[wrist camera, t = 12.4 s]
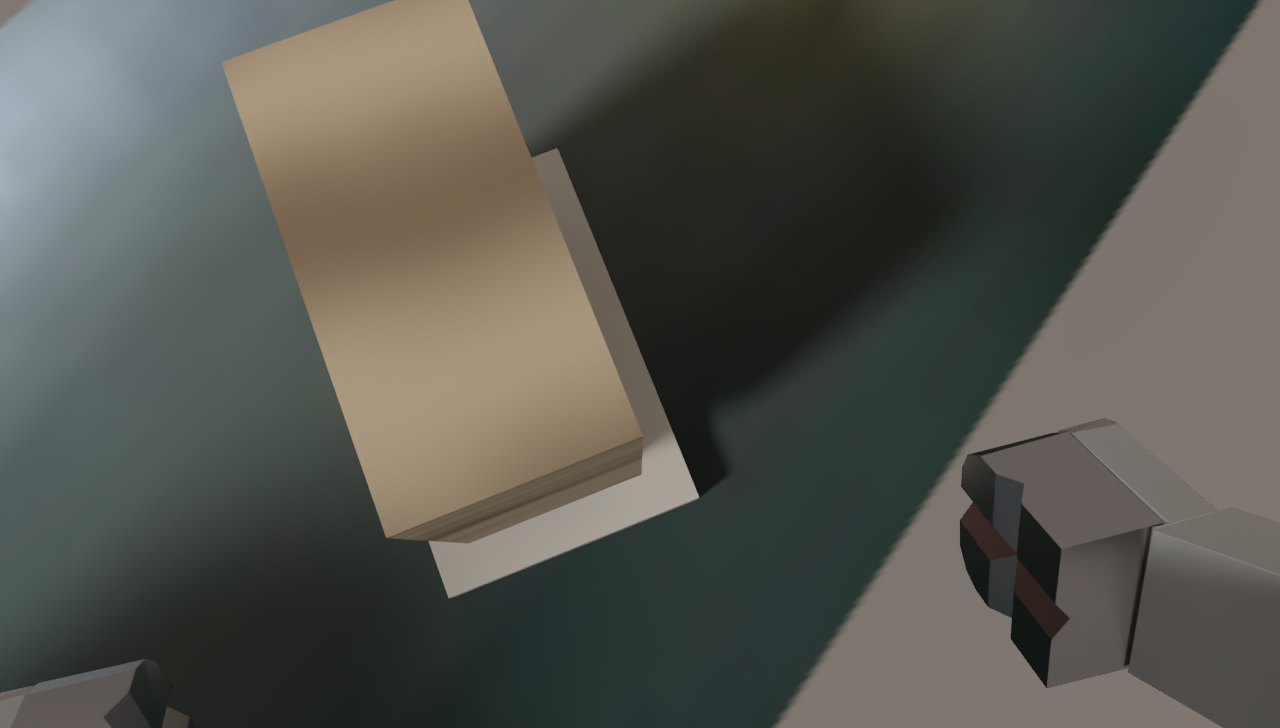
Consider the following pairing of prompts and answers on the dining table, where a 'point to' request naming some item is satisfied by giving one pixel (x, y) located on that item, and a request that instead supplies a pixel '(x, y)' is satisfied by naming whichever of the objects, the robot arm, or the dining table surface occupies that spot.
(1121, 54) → the dining table surface
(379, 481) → the tan wooden block
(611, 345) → the peg stand
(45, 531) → the dining table surface
